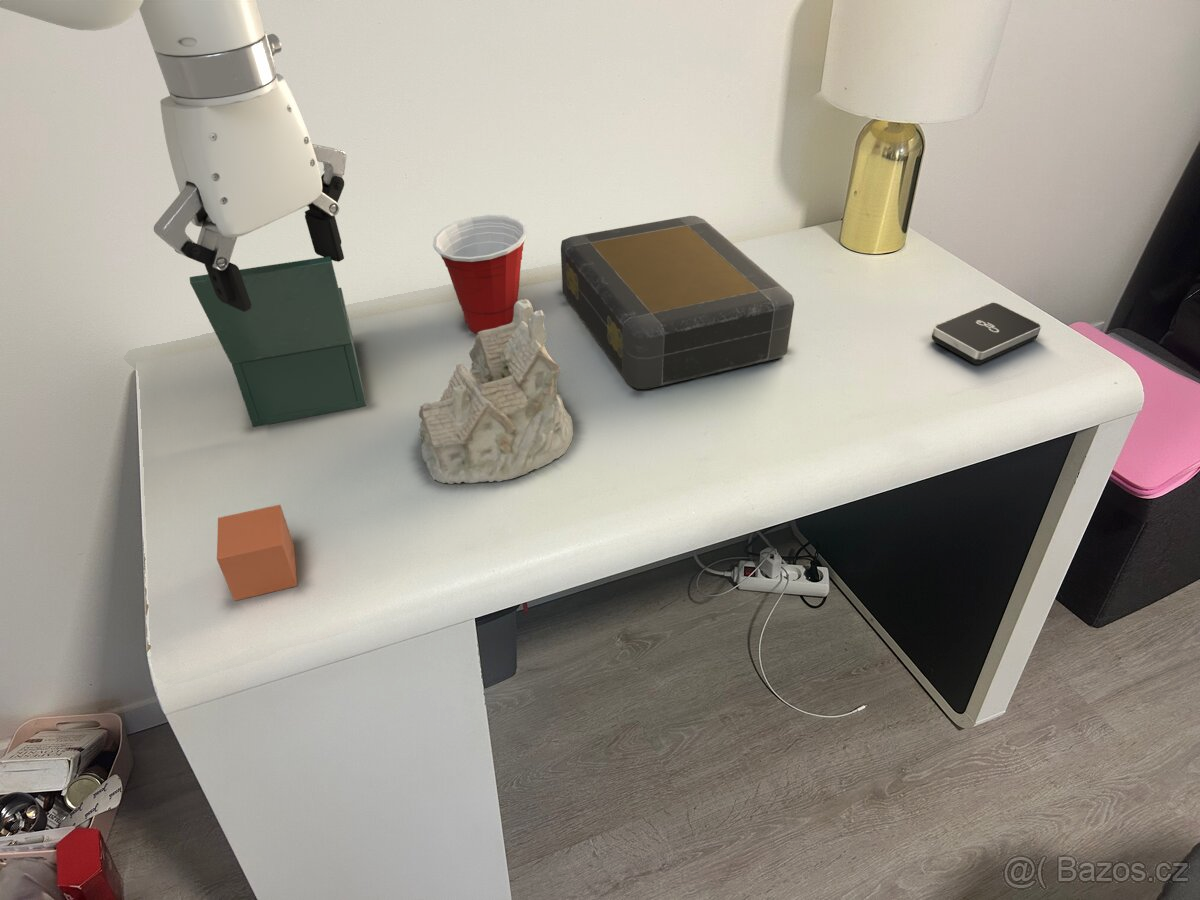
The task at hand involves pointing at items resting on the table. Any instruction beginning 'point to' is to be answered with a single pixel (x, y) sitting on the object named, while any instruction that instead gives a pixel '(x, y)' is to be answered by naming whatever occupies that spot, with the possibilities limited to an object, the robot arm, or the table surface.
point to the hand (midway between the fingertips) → (285, 280)
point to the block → (256, 552)
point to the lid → (278, 310)
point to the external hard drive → (985, 332)
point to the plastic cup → (484, 267)
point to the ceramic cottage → (498, 408)
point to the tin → (301, 383)
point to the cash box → (674, 300)
